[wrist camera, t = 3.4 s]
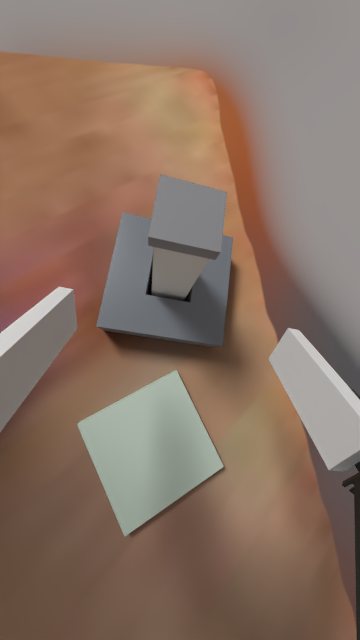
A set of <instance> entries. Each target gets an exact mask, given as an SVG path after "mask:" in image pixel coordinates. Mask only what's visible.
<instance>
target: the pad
mask: <svg viewBox="0 0 360 640" xmlns="http://www.w3.org/2000/svg"><path fill="white" fill-rule="evenodd" d="M77 425H78V428H79V430H80V432H81V435H82V437H83V440H84V442H85V444H86V447H87V449H88V451H89V454H90V456H91V458H92V461H93V463H94V466H95V468H96V470H97V473H98V475H99V477H100V480H101V482H102V484H103V487H104V489H105V492H106V494H107V496H108V499H109V501H110V503H111V506H112V508H113V510H114V513H115V515H116V518H117V520H118V522H119V525H120V527H121V529H122V532H123V534H124V536H126V535H128V534H129V533H131V532H132V531H133V530H135V529H136V528H138V527H139V526H141V525H142V524H143V523H145V522H146V521H148V520H149V519H150V518H152V517H153V516H155V515H156V514H158V513H159V512H160V511H162V510H163V509H165V508H166V507H167V506H169V505H170V504H172V503H173V502H174V501H176V500H177V499H179V498H180V497H182V496H183V495H184V494H186V493H187V492H189V491H190V490H191V489H193V488H194V487H196V486H197V485H199V484H200V483H201V482H203V481H204V480H206V479H207V478H208V477H210V476H211V475H213V474H214V473H216V472H217V471H218V470H220V469H221V468H223V467H224V466H223V464H222V462H221V460H220V458H219V456H218V454H217V452H216V450H215V447H214V445H213V443H212V441H211V439H210V437H209V435H208V433H207V431H206V429H205V427H204V425H203V423H202V421H201V419H200V417H199V415H198V413H197V411H196V409H195V407H194V405H193V403H192V401H191V399H190V396H189V394H188V392H187V390H186V388H185V386H184V384H183V382H182V380H181V378H180V376H179V374H178V372H177V370H174V371H173V372H171V373H169V374H167V375H165V376H163V377H162V378H160V379H158V380H156V381H154V382H152V383H150V384H149V385H147V386H145V387H143V388H141V389H139V390H137V391H136V392H134V393H132V394H130V395H128V396H126V397H124V398H123V399H121V400H119V401H117V402H115V403H113V404H112V405H110V406H108V407H106V408H104V409H102V410H100V411H99V412H97V413H95V414H93V415H91V416H89V417H87V418H86V419H84V420H82V421H80V422H79V423H78V424H77Z"/></svg>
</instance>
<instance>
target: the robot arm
mask: <svg viewBox="0 0 360 640" xmlns="http://www.w3.org/2000/svg"><path fill="white" fill-rule="evenodd" d="M76 330H77V321H76V310H75V300H74V290H73V289H69V288H63V287H58V288H57V289H55V290H54V291H53V292H52V293H50V294H49V295H48V296H47V297H45V298H44V299H43V300H42V301H40V302H39V303H38V304H36V305H35V306H34V307H33V308H31V309H30V310H29V311H28V312H26V313H25V314H24V315H23V316H21V317H20V318H19V319H17V320H16V321H15V322H14V323H12V324H11V325H10V326H9V327H7V328H6V329H5V330H3V331H2V332H0V432H1V431H2V429H3V428H4V427H5V425H6V424H7V423H8V421H9V420H10V418H11V417H12V416H13V414H14V413H15V412H16V410H17V409H18V408H19V406H20V405H21V404H22V402H23V401H24V400H25V398H26V397H27V396H28V394H29V393H30V392H31V390H32V389H33V388H34V386H35V385H36V384H37V382H38V381H39V379H40V378H41V377H42V375H43V374H44V373H45V371H46V370H47V369H48V367H49V366H50V365H51V363H52V362H53V361H54V359H55V358H56V357H57V355H58V354H59V353H60V351H61V350H62V349H63V347H64V346H65V344H66V343H67V342H68V340H69V339H70V338H71V336H72V335H73V334H74V332H75V331H76ZM269 361H270V363H271V364H272V366H273V368H274V370H275V372H276V374H277V375H278V377H279V379H280V381H281V383H282V385H283V387H284V388H285V390H286V392H287V394H288V396H289V398H290V399H291V401H292V403H293V405H294V407H295V409H296V411H297V412H298V414H299V416H300V418H301V420H302V422H303V423H304V425H305V427H306V428H307V431H308V433H309V434H310V436H311V438H312V440H313V442H314V444H315V446H316V447H317V449H318V451H319V453H320V455H321V456H322V459H323V460H324V462H325V464H326V466H327V468H328V469H329V470H335V471H346V470H348V469H349V468H351V467H353V466H354V465H355V466H356V468H357V470H358V471H359V473H357V474H355V475H354V476H352V477H350V478H348V479H346V480H345V481H343V484H342V485H343V486H344V487H346V486H348V485H350V484H354V487H353V488H351V489H350V490H349V491H350V492H352V493H353V494H354V498H355V499H354V502H355V556H356V557H355V558H356V608H357V609H356V613H357V640H360V397H359V396H358V395H357V393H356V392H355V391H354V390H352V389H351V388H350V387H349V386H348V385H346V383H345V382H344V381H343V380H342V379H341V378H340V377H339V375H338V374H337V373H336V372H335V371H334V370H333V369H332V367H331V366H330V365H329V364H328V363H327V362H326V360H325V359H324V358H323V357H322V356H321V355H320V354H319V353H318V351H317V350H316V349H315V348H314V347H313V346H312V344H311V343H310V342H309V341H308V340H307V339H306V338H305V337H304V335H303V334H302V333H301V332H300V331H299V330H295V329H290V328H288V329H287V331H286V332H285V334H284V335H283V337H282V339H281V340H280V342H279V343H278V345H277V346H276V348H275V349H274V351H273V353H272V354H271V356H270V357H269Z"/></svg>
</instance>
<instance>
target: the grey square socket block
mask: <svg viewBox="0 0 360 640" xmlns="http://www.w3.org/2000/svg"><path fill="white" fill-rule="evenodd" d="M150 225H151V219H150V218H145V217H141V216H137V215H132V214H128V213H122V217H121V221H120V226H119V230H118V234H117V239H116V243H115V247H114V252H113V256H112V260H111V265H110V269H109V273H108V278H107V282H106V286H105V291H104V295H103V300H102V304H101V308H100V313H99V317H98V321H97V327H98V328H100V329H102V330H104V331H110V332H116V333H123V334H129V335H136V336H142V337H149V338H155V339H162V340H168V341H175V342H181V343H188V344H195V345H201V346H208V347H219V346H223V341H224V330H225V320H226V309H227V298H228V287H229V276H230V265H231V254H232V243H233V237H228V236H224V235H223V236H222V245H221V253H220V254H219V256H218V257H217V259H216V260H213V259H209V260H208V262H207V264H206V265H205V267H204V269H203V270H202V272H201V273H200V275H199V277H198V278H197V280H196V281H195V283H194V285H193V286H192V288H191V290H190V291H189V293H188V294H187V299H186V302H185V301H179V300H174V299H168V298H163V297H157V296H152V295H148V289H149V284H150V278H151V273H152V267H153V247H152V246H148V235H149V230H150Z"/></svg>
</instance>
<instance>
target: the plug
mask: <svg viewBox="0 0 360 640" xmlns="http://www.w3.org/2000/svg"><path fill="white" fill-rule="evenodd" d="M226 197H227V192H226V191H222V190H218V189H214V188H210V187H206V186H203V185H199V184H195V183H191V182H187V181H183V180H180V179H176V178H172V177H168V176H164V175H160V178H159V183H158V188H157V194H156V199H155V204H154V209H153V214H152V219H151V225H150V230H149V235H148V246H152V247H153V271H152V296H157V297H163V298H168V299H174V300H179V301H184V299H185V298H186V296H187V294H188V293H189V291H190V290H191V288H192V286H193V285H194V283H195V281H196V280H197V278H198V277H199V275H200V273H201V272H202V270H203V269H204V267H205V265H206V264H207V262H208V260H209V259H213V260H216V259H217V257H218V256H219V254H220V253H221V245H222V236H223V226H224V216H225V207H226Z"/></svg>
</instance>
